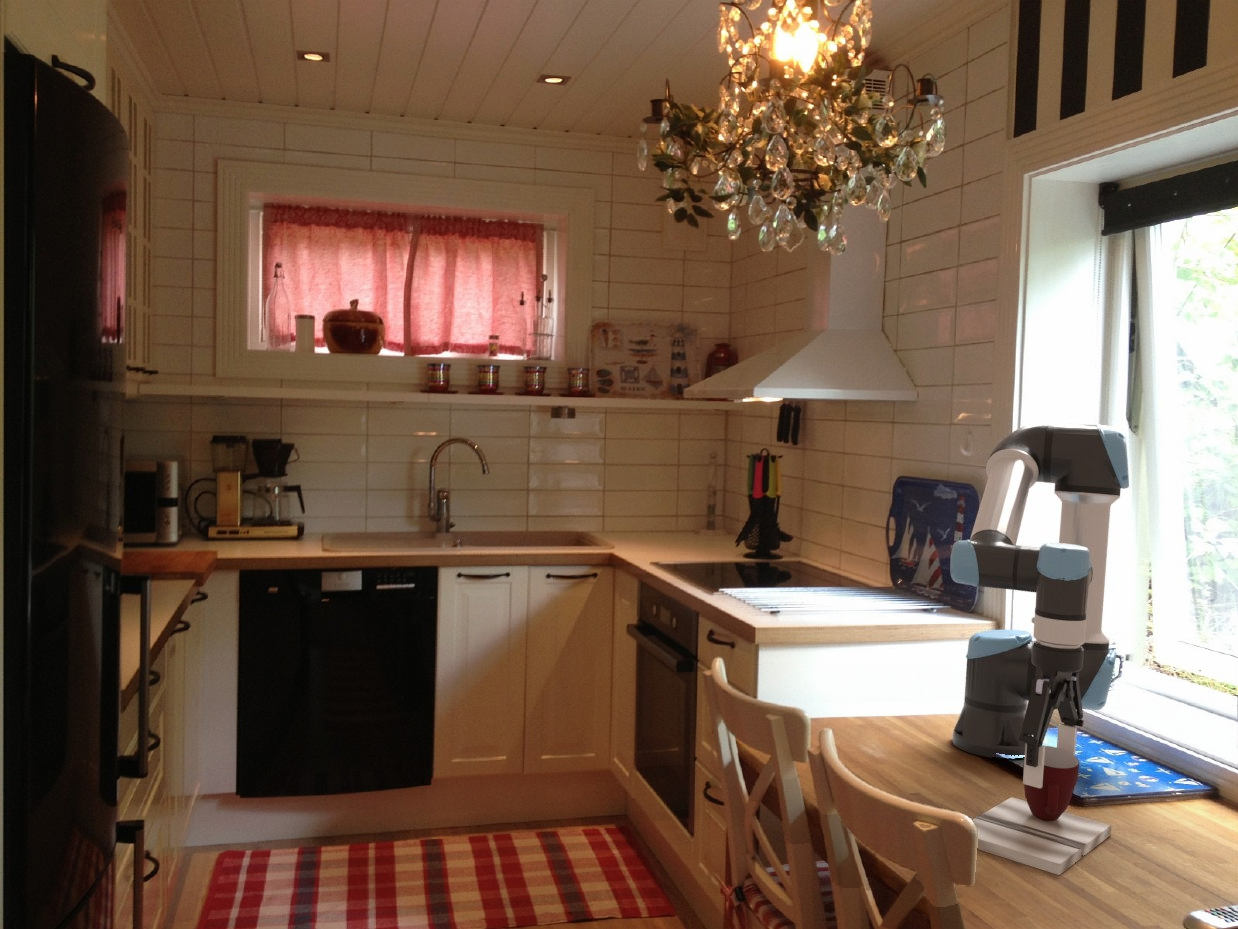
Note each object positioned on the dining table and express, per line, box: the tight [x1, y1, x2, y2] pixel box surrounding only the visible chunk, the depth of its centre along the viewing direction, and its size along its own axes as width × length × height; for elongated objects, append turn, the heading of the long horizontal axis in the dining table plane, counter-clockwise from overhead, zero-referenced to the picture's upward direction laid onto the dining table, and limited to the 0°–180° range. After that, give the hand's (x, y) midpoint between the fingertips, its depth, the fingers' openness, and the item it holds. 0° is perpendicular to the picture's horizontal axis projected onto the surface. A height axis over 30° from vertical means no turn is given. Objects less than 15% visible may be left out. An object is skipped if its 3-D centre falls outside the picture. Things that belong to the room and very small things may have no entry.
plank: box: [980, 796, 1112, 857], centre depth 171 cm, size 12×16×2 cm
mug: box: [1022, 745, 1080, 821], centre depth 170 cm, size 11×8×10 cm
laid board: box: [972, 815, 1082, 876], centre depth 162 cm, size 9×16×2 cm, turn 48°
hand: (1049, 775), depth 171 cm, fingers open, 13 cm apart
